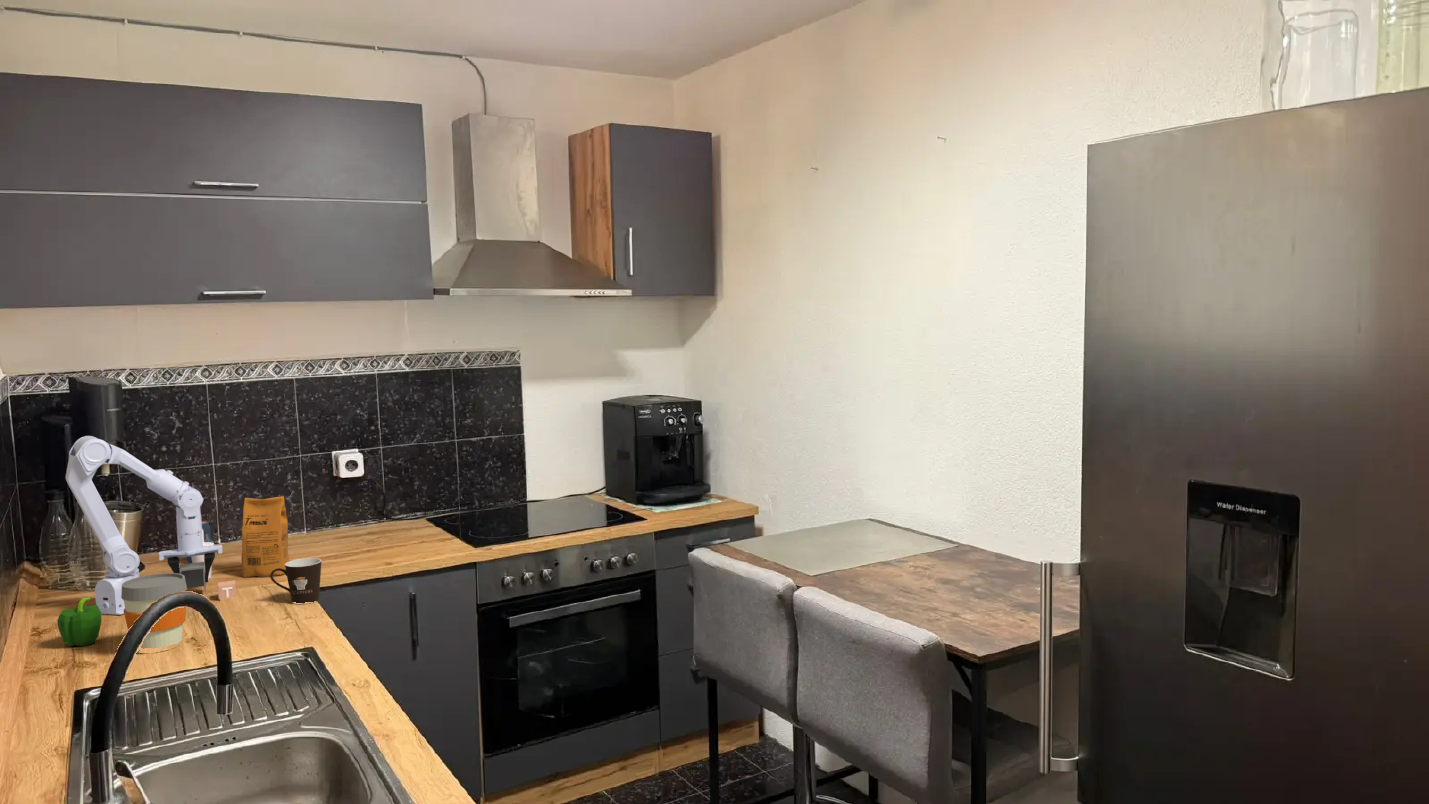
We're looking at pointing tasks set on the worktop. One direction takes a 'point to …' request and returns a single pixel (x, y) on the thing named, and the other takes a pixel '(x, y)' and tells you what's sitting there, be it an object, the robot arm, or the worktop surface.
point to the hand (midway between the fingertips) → (193, 583)
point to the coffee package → (264, 537)
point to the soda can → (206, 536)
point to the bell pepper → (80, 624)
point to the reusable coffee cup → (148, 591)
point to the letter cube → (226, 589)
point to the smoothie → (201, 557)
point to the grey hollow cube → (194, 574)
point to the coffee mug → (302, 579)
